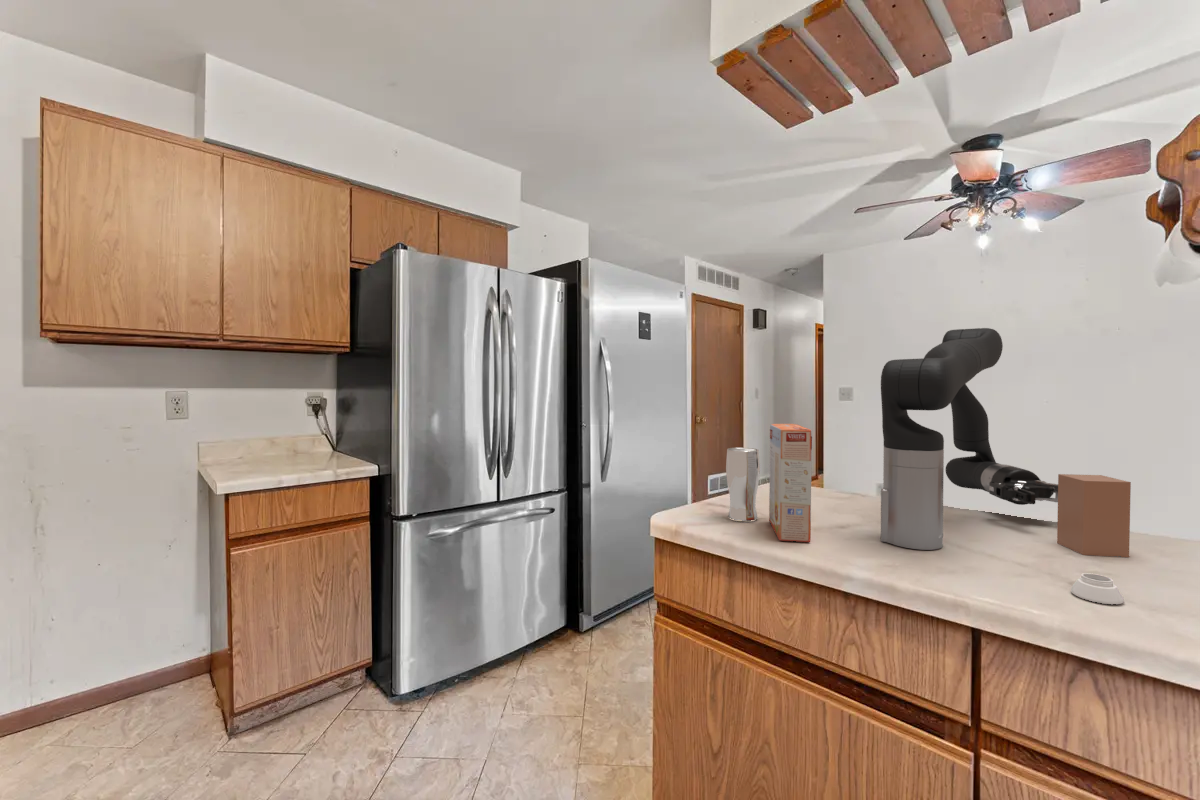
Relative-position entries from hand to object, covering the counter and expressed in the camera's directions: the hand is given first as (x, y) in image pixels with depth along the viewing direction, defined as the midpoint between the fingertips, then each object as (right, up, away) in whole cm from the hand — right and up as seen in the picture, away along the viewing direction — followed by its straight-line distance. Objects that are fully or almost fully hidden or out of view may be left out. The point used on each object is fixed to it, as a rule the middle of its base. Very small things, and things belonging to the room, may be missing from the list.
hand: (1060, 499), depth 94 cm
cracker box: (-49, -7, +5) cm, 50 cm away
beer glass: (-55, -7, +15) cm, 57 cm away
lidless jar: (-19, -8, -27) cm, 34 cm away
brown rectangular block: (-2, -7, -8) cm, 11 cm away
